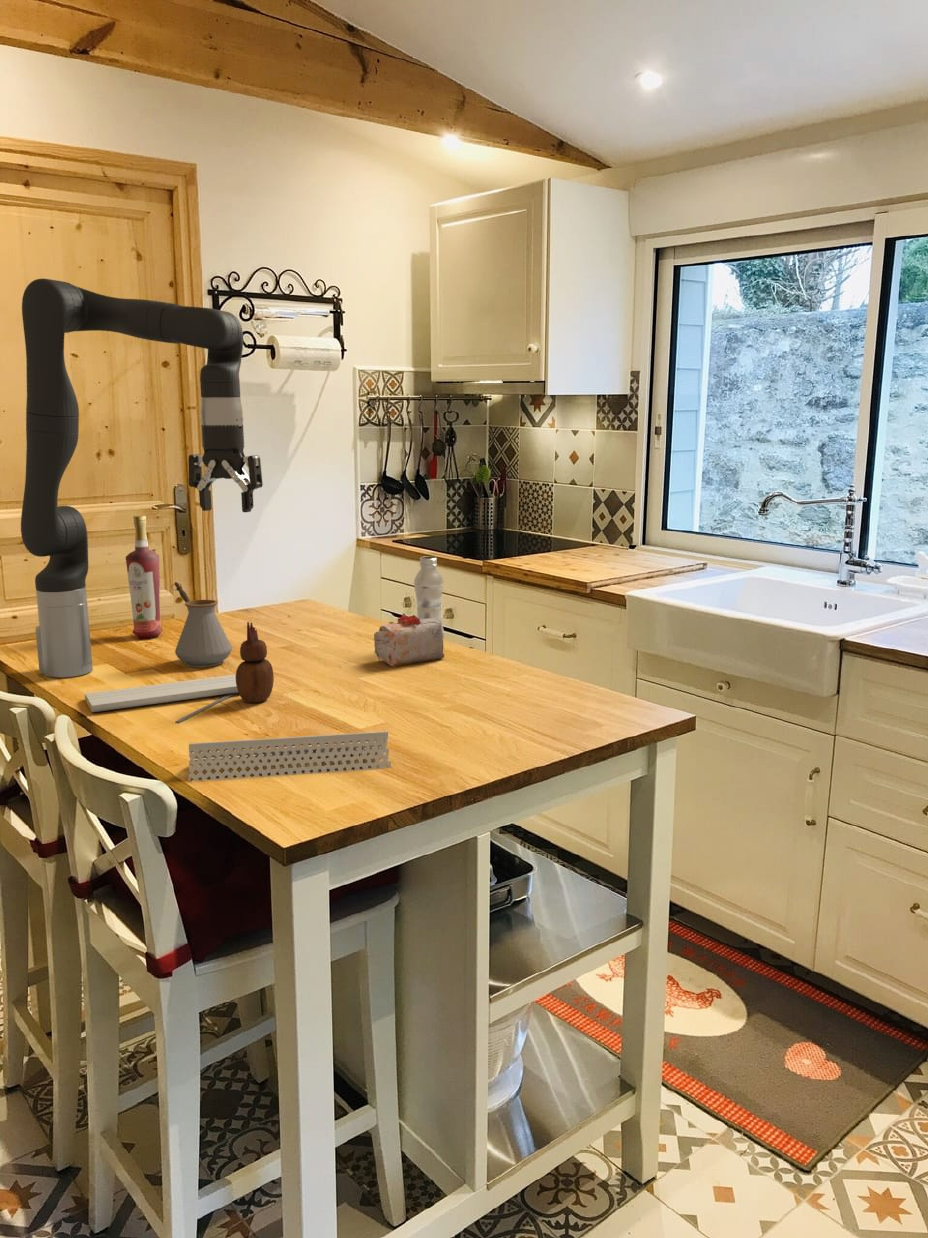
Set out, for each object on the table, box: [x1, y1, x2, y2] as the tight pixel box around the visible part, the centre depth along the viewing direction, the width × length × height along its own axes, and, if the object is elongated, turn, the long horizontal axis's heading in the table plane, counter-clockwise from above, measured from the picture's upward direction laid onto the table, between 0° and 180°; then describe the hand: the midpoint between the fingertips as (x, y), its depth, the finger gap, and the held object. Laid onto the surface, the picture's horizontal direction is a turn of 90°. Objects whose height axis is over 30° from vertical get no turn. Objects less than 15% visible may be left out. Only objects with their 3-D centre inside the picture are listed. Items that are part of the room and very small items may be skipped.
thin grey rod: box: [175, 693, 238, 723], centre depth 177 cm, size 1×19×1 cm, turn 161°
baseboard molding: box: [84, 673, 239, 713], centre depth 185 cm, size 31×3×12 cm
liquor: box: [125, 515, 164, 640], centre depth 229 cm, size 7×7×28 cm
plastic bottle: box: [413, 555, 445, 641], centre depth 219 cm, size 6×7×20 cm
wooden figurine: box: [235, 621, 275, 704], centre depth 180 cm, size 7×6×15 cm
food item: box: [373, 613, 445, 667], centre depth 208 cm, size 14×8×10 cm, turn 123°
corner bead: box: [188, 730, 392, 783], centre depth 148 cm, size 29×9×5 cm, turn 101°
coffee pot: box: [170, 581, 233, 668], centre depth 211 cm, size 21×12×15 cm, turn 34°
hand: (226, 511), depth 187 cm, fingers open, 8 cm apart
